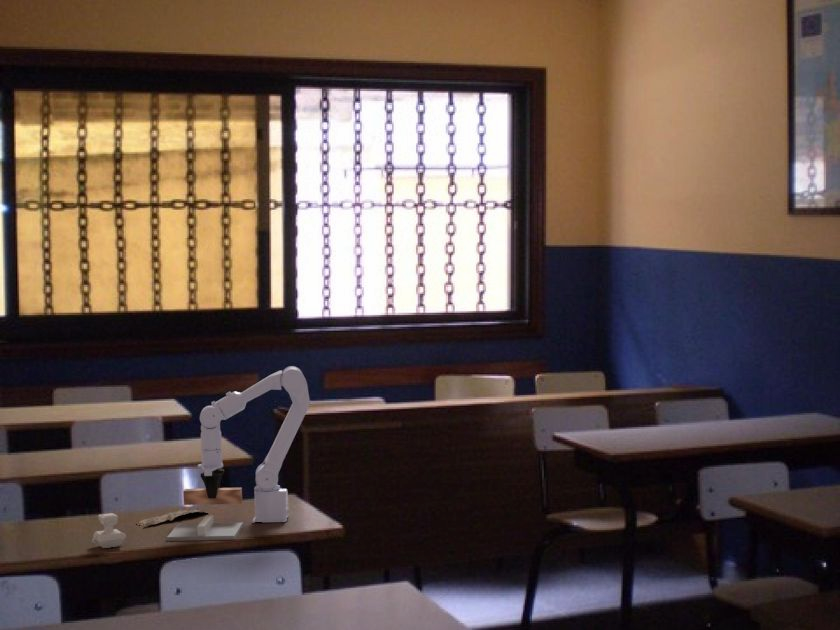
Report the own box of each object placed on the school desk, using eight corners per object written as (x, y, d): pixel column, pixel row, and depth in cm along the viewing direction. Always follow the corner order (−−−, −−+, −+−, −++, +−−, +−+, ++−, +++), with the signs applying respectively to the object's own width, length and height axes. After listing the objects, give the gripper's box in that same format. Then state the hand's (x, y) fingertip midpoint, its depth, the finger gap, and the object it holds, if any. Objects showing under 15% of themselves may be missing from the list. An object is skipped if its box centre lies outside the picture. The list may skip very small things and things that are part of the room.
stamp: (95, 551, 329) (94, 519, 328) (88, 546, 335) (87, 514, 334) (130, 546, 333) (128, 515, 333) (122, 542, 339) (121, 510, 338)
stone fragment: (212, 516, 372) (186, 513, 378) (212, 507, 372) (186, 503, 378) (150, 533, 351) (124, 529, 357) (150, 522, 351) (123, 519, 356)
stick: (242, 501, 361) (241, 487, 360) (240, 503, 358) (240, 489, 357) (185, 502, 361) (185, 488, 361) (183, 505, 358) (183, 491, 358)
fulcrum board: (243, 525, 355) (242, 513, 354) (234, 539, 339) (234, 526, 338) (178, 527, 355) (178, 514, 354) (166, 540, 339) (166, 527, 339)
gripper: (201, 445, 366) (203, 492, 366) (192, 453, 351) (194, 502, 352) (226, 444, 366) (228, 491, 366) (218, 452, 351) (219, 501, 352)
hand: (213, 496), depth 359 cm, fingers closed on stick, 3 cm apart
